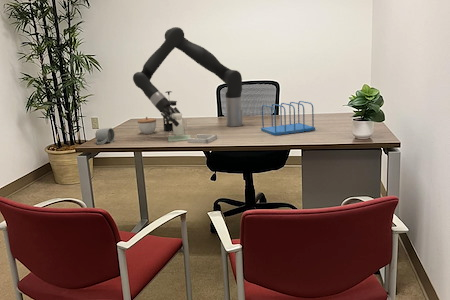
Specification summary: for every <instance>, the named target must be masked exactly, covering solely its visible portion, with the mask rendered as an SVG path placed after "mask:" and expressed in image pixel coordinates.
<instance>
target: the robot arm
mask: <svg viewBox="0 0 450 300" xmlns="http://www.w3.org/2000/svg"><path fill="white" fill-rule="evenodd" d="M164 39H165V40H164V41H163V43H162V44H161V46H159V48H157V50H155V51H154V53H152V54H151V55H150V56H149V57H148V59H147V60H146V61H145V63H144V64H143V66H142V70H141V71H137V72H134V74H133V75H132V81H133V84H135V86H136V87H137V88H139V89H140V90H141V91H142V92H143V94H144V95H145V97H146V98H147V99H148V100H149V101H150V103H151V104H153V106H154V107H155V108H156V109H157V111H159V113H160V115H161V116H162V118H163V117H164V118H165V119H166V120H167V121H168V122H169V123H173V124H174V125H175V126H176V127H177V126H178V125H179V123H178V122H177V121H176V120H175V119H174V117H173V113H181V112H180V110H179V109H178V108H177V107H176V106H175V107H173V106H171V103H170V102H169V100H170V99H169V98H167V97H166V96H165V95H164V94H163V93H162V92H161V91H160V90H159V89H158V88H157V87H156V86H155V85H154V84H153V83H152V82H151V79H152V78H153V75H154V74H155V73H156V72H157V70H158V69H159V68H160V67H161V66H162V63H164V61H165V59H166V58H167V57H168V56H169V55H170V53H171V52H173V50H174V49H177V50H179V51H181V52H182V53H184V54H185V55H186V56H187V57H189V58H190V59H191V60H193V61H194V62H195V63H197V64H198V65H199V66H201V67H202V68H204V69H205V70H206V71H207V70H208V71H209V72H211V73H212V74H214V75H215V76H217V77H218V78H219V79H220V81H222V82H223V83H225V84H226V85H227V90H226V92H225V111H226V113H225V114H226V126H227V127H240V126H243V123H244V122H243V109H242V91H243V77H242V74H241V72H240V71H238V70H235V69H230V67H229V68H228V67H227V66H225V65H224V64H223V63H221V62H220V61H219V59H218V58H217V57H216V56H215V55H214V54H213V53H211V52H210V51H209V50H207V49H206V48H205V47H203V46H201V45H198V44H196V43H194V42H192V41H190V40H188V39H187V38H186V37H185V32H184V30H183V29H182V28H181V27H171V28H169V29H167V30H166V31H165V33H164Z"/></svg>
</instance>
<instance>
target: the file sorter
mask: <svg viewBox="0 0 450 300" xmlns="http://www.w3.org/2000/svg"><path fill="white" fill-rule="evenodd" d="M303 103H304V104H309V105H311V109H312V110H311V113H312V114H311V116H312V119H311V122H312V123H311V125H307V124H305V106H304V104H303ZM293 104H296V105H297V118H298V121H297V123H296V111H295V110H296V108H295V105H293ZM284 105H285V106H286V105H287V106H289V110H288V111H289V124H286V114H287V112H286V107H285V106H284ZM274 106H276V107H279V109H280V110H279V111H280V112H279V113H280V125H277V117H276V116H277V115H276V114H277V113H276V109H275V107H274ZM300 106H302V113H303V116H302V117H303V118H302V123H301V122H300ZM264 107H267V108H270V109H271V111H270V112H271V113H270V114H271V126H267V127H265V124H264ZM291 107H292V109H293V123H292V121H291V119H292V118H291V114H292V113H291V112H292V111H291ZM282 108H283V110H284V111H283V112H284V113H283V115H284V116H282ZM273 110H274V115H273ZM273 116H274V118H273ZM283 117H284V124H283V123H282V122H283V119H282V118H283ZM314 117H315V116H314V105H313V103H312V102H309V101H304V100H300V101H298V102H295V101H290V102H289V103H285V102H281V103H280V104H276V103H272V104H271V105H267V104H262V106H261V122H262V127H261V128H260V130H261V132H264V133H266V132H267V134H269V135H271V136H274V135H277V136H282V135H281V134H284V135H290V134H289V133H291V134H297V133H296V132H298V133H305V132H304V131H306V132H312V131H311V130H314V131H316V127H315V126H314V124H315V123H314V122H315V121H314ZM273 121H274V122H273Z"/></svg>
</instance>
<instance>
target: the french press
mask: <svg viewBox="0 0 450 300" xmlns="http://www.w3.org/2000/svg"><path fill="white" fill-rule="evenodd" d="M164 93H165V94H166V93H167V95H168V96H170V93H173V91H170V90H169V91H165V92H164ZM168 100H169V102H170V103H171V105H170V106H171V107H174V106H175V107H176V106H177V103H178V101H177V100H170V99H168ZM162 119H163V121H162V122H163V132H173V125H172V122H170V121H169V122H168V121H167V120H166V119H165V118H164V117H163V116H162Z"/></svg>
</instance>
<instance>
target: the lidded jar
mask: <svg viewBox="0 0 450 300" xmlns="http://www.w3.org/2000/svg"><path fill="white" fill-rule="evenodd" d="M137 126H138V130H139V131H140V132H141V133H142V135H143V134H145V135H149V134H153V133H154V132H155V130H156V128H157V119H156V118H154V117H153V118H152V117H148V116H146V117H145V118H140V119H137Z"/></svg>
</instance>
